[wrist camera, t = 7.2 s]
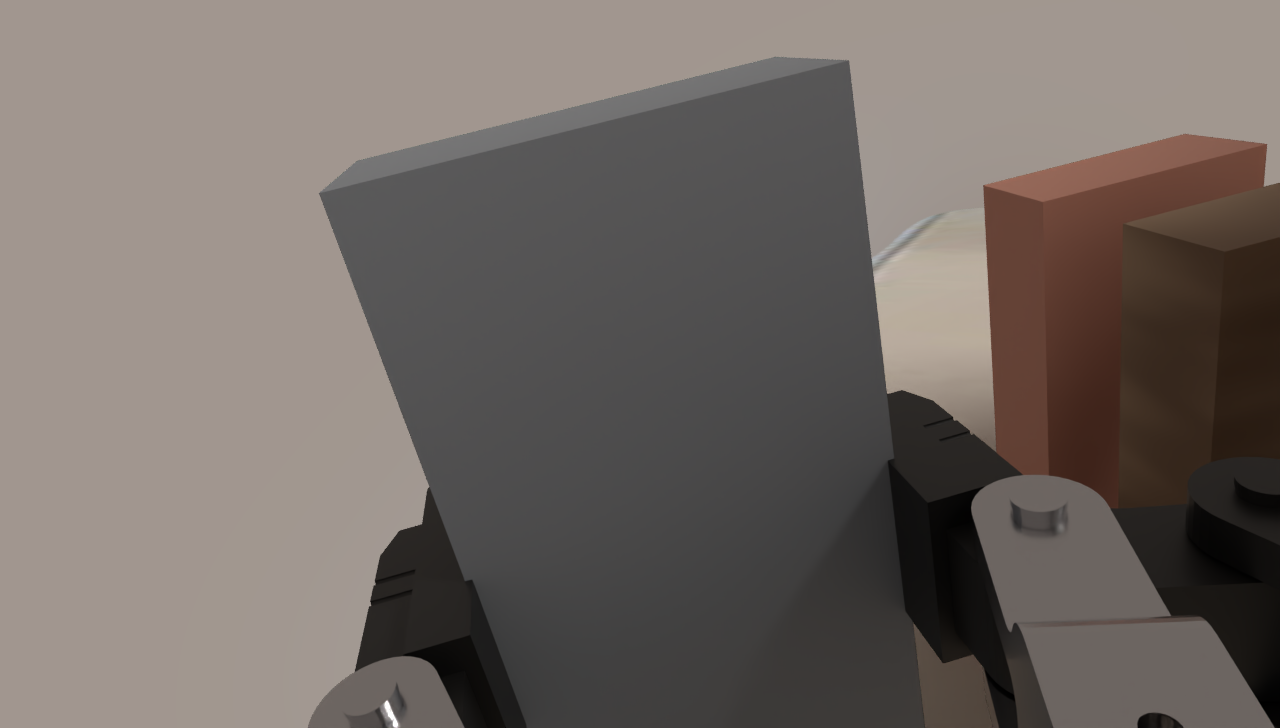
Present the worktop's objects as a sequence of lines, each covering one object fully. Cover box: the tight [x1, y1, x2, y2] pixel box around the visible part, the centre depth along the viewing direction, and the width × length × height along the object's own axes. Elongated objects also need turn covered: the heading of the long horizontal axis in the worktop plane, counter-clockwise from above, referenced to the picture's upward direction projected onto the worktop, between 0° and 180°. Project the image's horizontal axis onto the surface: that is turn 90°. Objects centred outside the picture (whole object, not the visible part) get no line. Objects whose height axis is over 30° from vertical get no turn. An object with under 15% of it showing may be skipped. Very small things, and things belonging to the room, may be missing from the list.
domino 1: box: [983, 134, 1267, 508], centre depth 20 cm, size 2×5×12 cm, turn 100°
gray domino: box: [319, 57, 925, 728], centre depth 11 cm, size 2×5×12 cm, turn 100°
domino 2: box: [1118, 183, 1280, 508], centre depth 16 cm, size 2×5×12 cm, turn 100°
